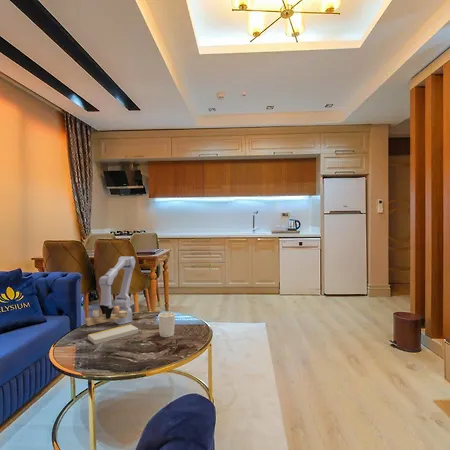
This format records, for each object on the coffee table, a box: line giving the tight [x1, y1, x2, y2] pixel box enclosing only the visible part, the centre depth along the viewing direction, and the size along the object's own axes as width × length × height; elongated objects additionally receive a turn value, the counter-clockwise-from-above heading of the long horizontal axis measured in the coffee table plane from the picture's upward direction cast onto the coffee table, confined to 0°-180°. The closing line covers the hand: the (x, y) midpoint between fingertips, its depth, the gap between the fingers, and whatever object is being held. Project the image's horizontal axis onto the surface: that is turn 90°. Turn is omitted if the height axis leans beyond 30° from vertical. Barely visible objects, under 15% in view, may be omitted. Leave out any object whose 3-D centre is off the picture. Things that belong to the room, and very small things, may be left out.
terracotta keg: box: [112, 305, 119, 314], centre depth 199 cm, size 4×4×4 cm
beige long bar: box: [84, 310, 127, 327], centre depth 195 cm, size 24×5×4 cm, turn 131°
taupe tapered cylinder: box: [92, 308, 101, 318], centre depth 191 cm, size 4×4×4 cm
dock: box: [87, 323, 139, 345], centre depth 187 cm, size 26×11×3 cm, turn 131°
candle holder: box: [157, 311, 176, 338], centre depth 188 cm, size 10×10×12 cm
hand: (106, 317), depth 195 cm, fingers closed on beige long bar, 5 cm apart
